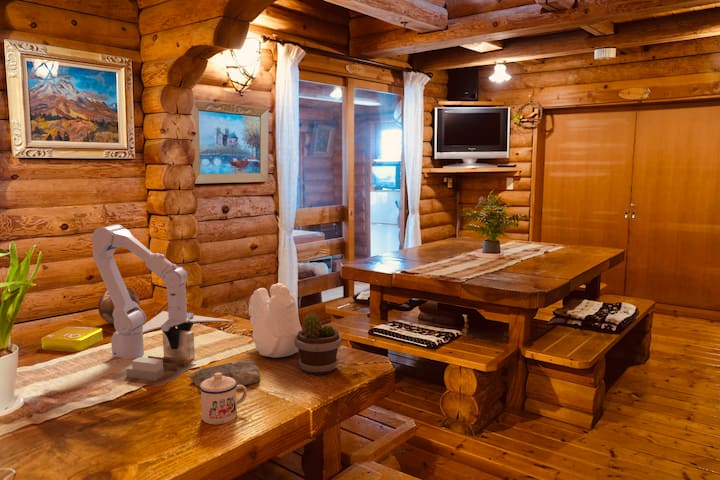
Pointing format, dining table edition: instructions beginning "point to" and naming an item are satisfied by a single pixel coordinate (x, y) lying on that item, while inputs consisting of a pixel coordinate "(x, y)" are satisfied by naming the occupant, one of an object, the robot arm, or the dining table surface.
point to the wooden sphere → (112, 305)
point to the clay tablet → (229, 373)
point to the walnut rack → (170, 372)
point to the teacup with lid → (220, 399)
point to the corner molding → (163, 317)
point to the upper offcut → (147, 364)
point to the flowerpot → (317, 346)
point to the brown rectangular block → (180, 346)
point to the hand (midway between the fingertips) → (179, 346)
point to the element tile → (72, 339)
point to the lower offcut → (144, 374)
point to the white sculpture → (274, 321)
